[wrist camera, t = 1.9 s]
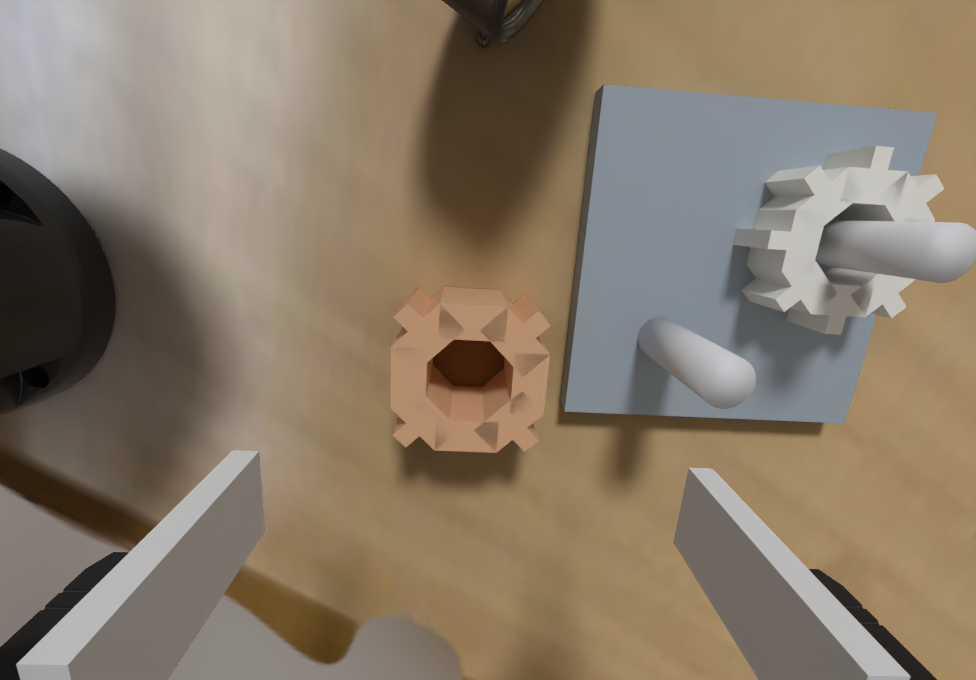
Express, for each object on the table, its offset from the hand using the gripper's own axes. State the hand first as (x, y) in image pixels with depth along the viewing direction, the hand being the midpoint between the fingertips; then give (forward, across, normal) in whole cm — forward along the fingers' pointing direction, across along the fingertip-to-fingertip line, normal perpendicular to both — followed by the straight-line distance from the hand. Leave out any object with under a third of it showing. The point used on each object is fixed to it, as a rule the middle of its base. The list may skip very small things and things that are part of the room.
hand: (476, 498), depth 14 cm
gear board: (+15, +15, +6) cm, 22 cm away
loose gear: (+15, 0, 0) cm, 15 cm away
